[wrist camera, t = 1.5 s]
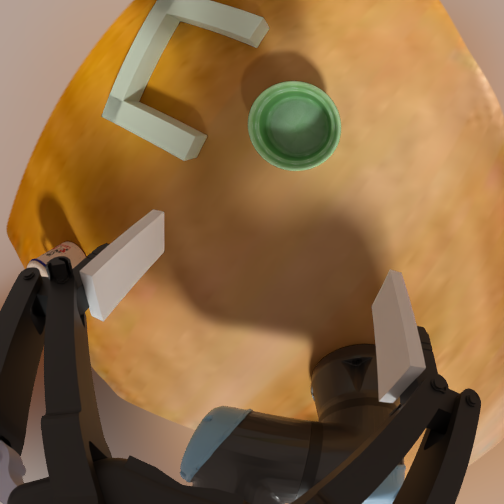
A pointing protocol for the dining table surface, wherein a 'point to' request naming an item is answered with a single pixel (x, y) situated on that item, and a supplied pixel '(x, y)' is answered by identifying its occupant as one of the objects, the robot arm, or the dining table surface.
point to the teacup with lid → (61, 250)
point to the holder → (147, 55)
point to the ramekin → (294, 125)
